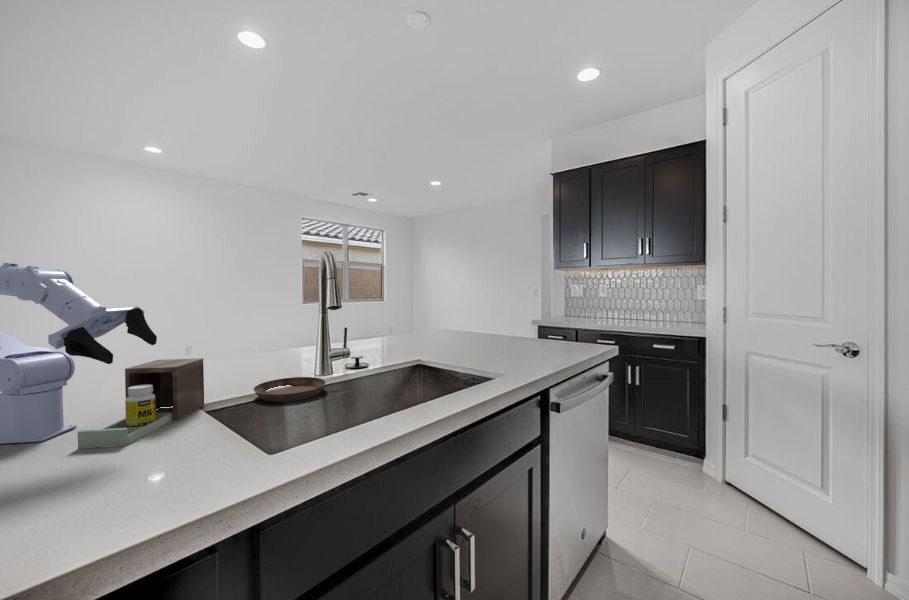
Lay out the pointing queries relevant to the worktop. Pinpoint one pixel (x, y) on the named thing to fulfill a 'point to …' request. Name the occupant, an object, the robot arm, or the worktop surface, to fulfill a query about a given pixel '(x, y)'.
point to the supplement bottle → (140, 406)
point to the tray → (119, 433)
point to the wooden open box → (171, 383)
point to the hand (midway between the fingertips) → (133, 349)
